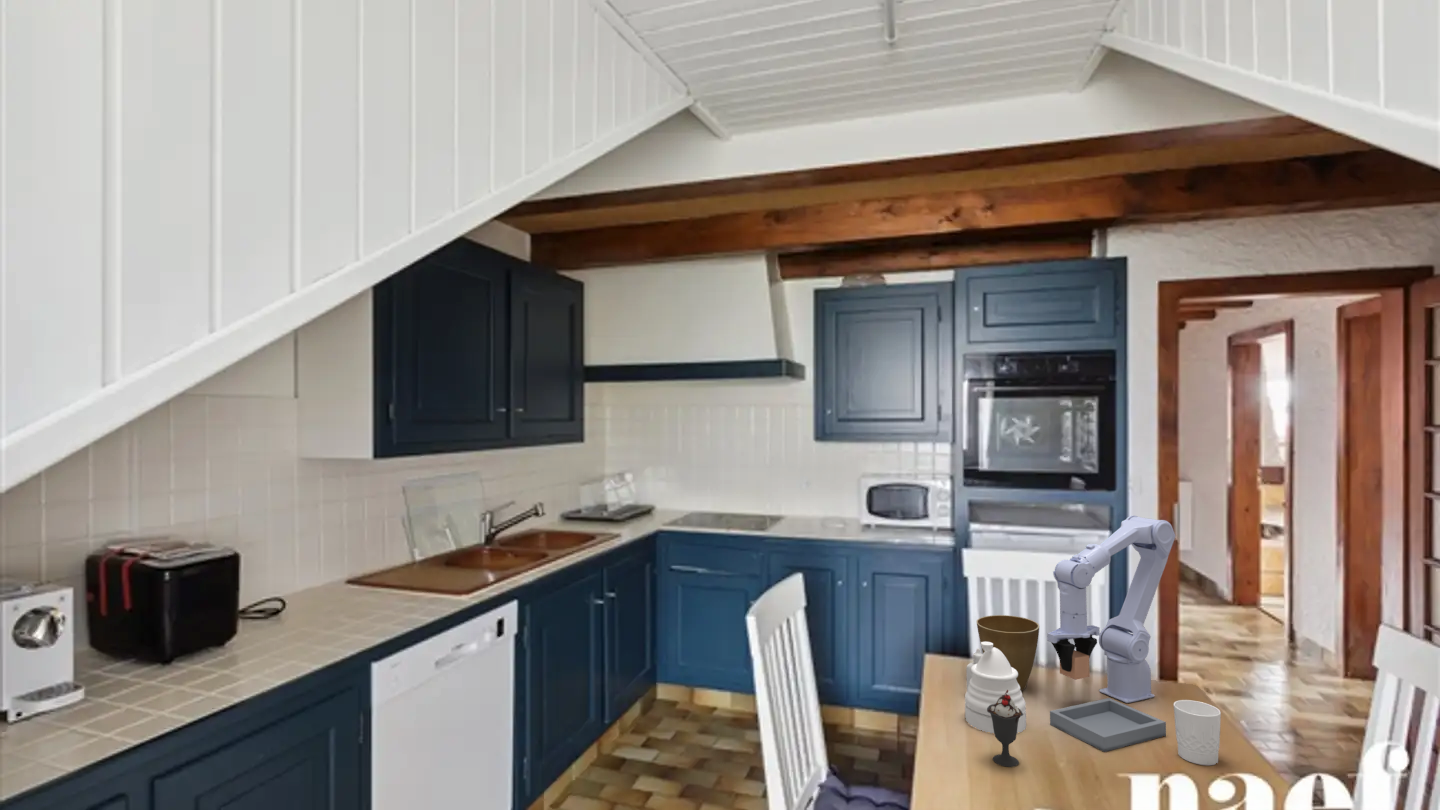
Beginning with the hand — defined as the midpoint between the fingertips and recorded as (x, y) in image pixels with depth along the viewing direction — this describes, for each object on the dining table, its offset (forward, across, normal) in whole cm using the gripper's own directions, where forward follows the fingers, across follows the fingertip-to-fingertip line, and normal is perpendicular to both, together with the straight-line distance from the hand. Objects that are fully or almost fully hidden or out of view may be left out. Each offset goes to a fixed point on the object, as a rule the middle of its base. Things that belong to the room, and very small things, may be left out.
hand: (1074, 668), depth 170 cm
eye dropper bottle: (+9, -18, +12) cm, 23 cm away
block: (+2, 0, 0) cm, 2 cm away
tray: (+8, -5, -13) cm, 16 cm away
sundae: (+9, -35, -15) cm, 39 cm away
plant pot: (+9, -6, +15) cm, 18 cm away
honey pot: (+9, -24, 0) cm, 26 cm away
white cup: (+9, +1, -29) cm, 30 cm away
